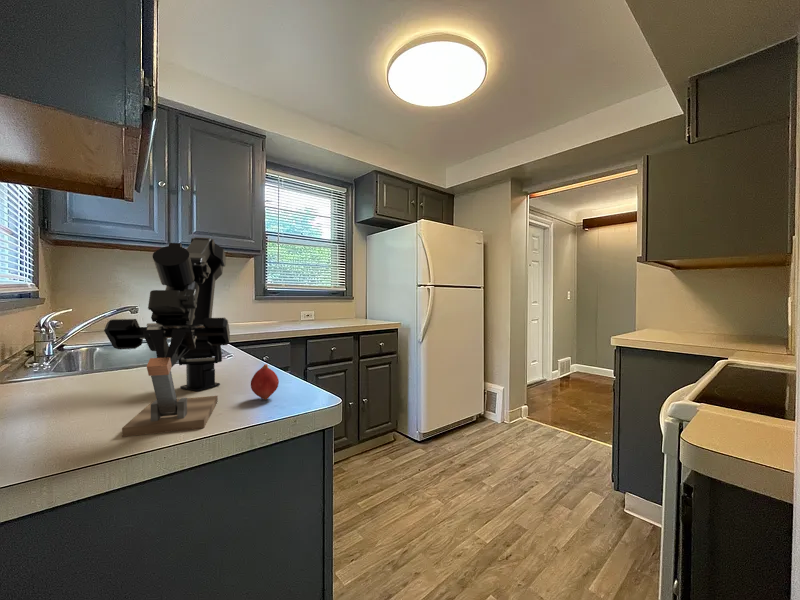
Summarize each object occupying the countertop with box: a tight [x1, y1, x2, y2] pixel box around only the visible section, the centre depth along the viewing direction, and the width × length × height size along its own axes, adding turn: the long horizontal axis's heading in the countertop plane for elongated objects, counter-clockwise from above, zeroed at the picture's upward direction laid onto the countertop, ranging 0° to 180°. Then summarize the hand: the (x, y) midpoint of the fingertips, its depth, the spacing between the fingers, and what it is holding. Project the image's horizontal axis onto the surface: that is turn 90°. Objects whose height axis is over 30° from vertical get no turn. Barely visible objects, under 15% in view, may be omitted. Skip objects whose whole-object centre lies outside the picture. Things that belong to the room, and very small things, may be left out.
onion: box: [250, 363, 280, 401], centre depth 78 cm, size 6×6×8 cm
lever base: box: [121, 395, 219, 438], centre depth 67 cm, size 15×12×4 cm
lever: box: [146, 357, 178, 416], centre depth 60 cm, size 2×3×12 cm
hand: (162, 372), depth 59 cm, fingers closed, pressing on lever
